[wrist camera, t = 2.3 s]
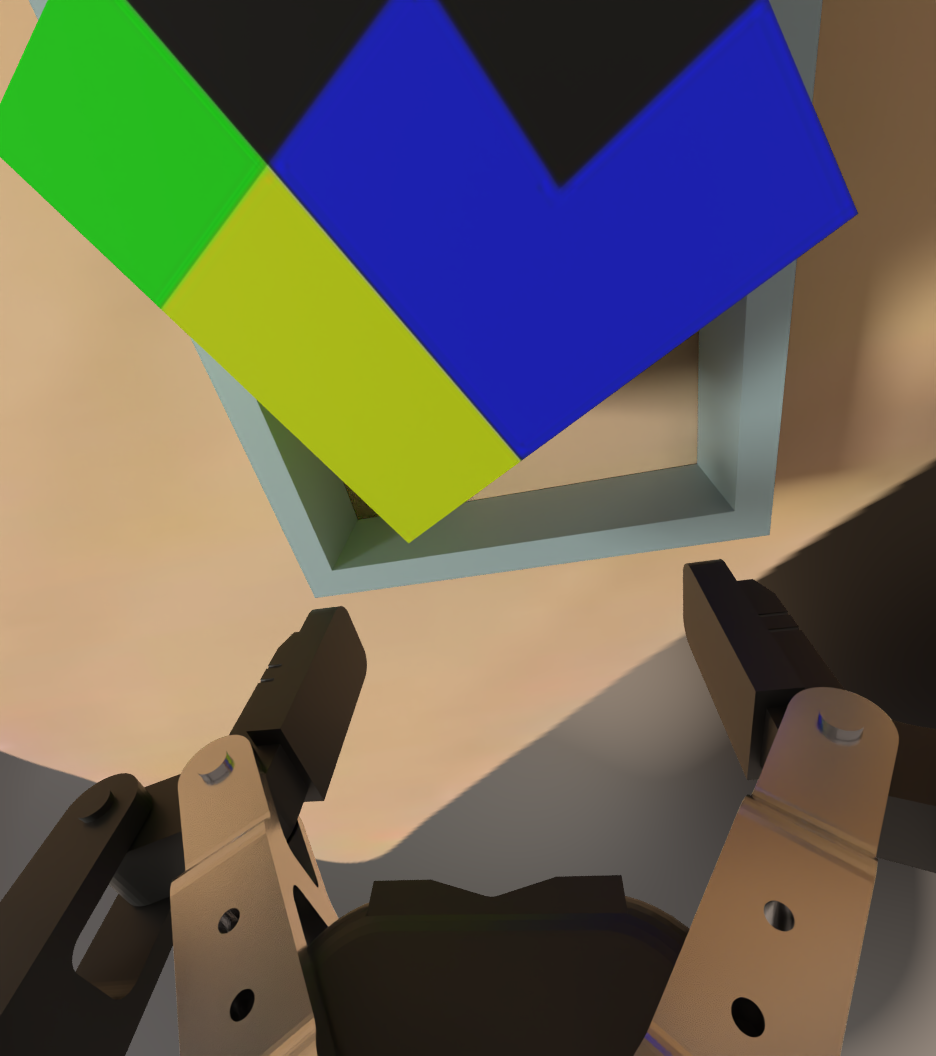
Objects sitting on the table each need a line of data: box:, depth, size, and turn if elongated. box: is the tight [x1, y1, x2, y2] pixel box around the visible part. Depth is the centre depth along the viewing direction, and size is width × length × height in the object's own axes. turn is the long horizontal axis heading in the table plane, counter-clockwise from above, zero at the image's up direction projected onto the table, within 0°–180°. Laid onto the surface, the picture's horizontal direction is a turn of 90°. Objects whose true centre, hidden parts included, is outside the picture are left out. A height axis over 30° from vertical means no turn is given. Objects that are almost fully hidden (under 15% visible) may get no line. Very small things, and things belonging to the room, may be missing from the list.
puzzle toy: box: [0, 0, 858, 543], centre depth 12 cm, size 10×10×10 cm
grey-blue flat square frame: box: [29, 0, 823, 598], centre depth 16 cm, size 18×17×4 cm
